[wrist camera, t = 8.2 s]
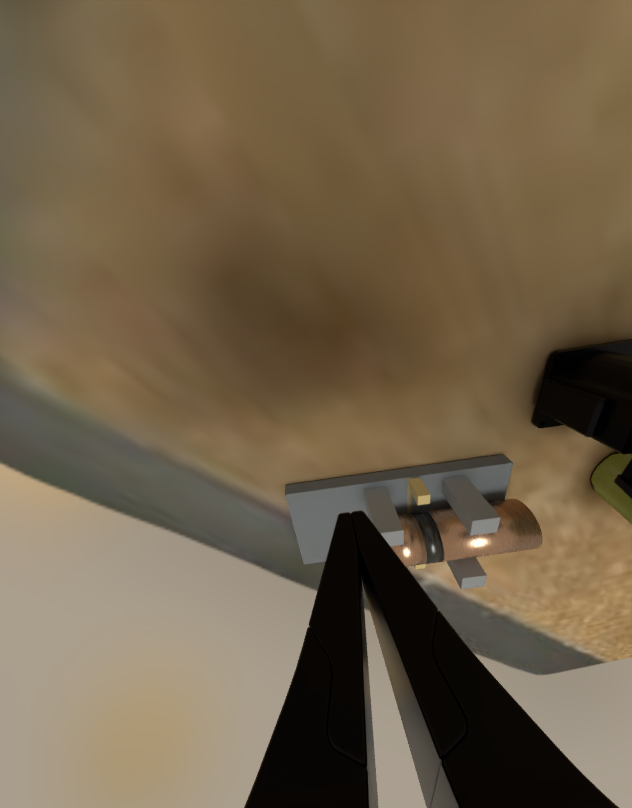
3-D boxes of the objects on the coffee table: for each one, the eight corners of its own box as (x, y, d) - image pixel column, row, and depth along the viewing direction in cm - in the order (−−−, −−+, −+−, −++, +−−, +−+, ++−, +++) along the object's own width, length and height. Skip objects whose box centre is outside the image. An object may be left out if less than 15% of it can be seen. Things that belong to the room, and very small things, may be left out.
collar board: (503, 454, 23) (559, 502, 18) (487, 529, 27) (529, 585, 22) (285, 484, 23) (280, 540, 18) (304, 553, 28) (303, 613, 23)
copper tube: (510, 489, 23) (548, 529, 19) (501, 517, 25) (534, 558, 21) (379, 508, 23) (392, 551, 20) (380, 534, 25) (393, 578, 22)
